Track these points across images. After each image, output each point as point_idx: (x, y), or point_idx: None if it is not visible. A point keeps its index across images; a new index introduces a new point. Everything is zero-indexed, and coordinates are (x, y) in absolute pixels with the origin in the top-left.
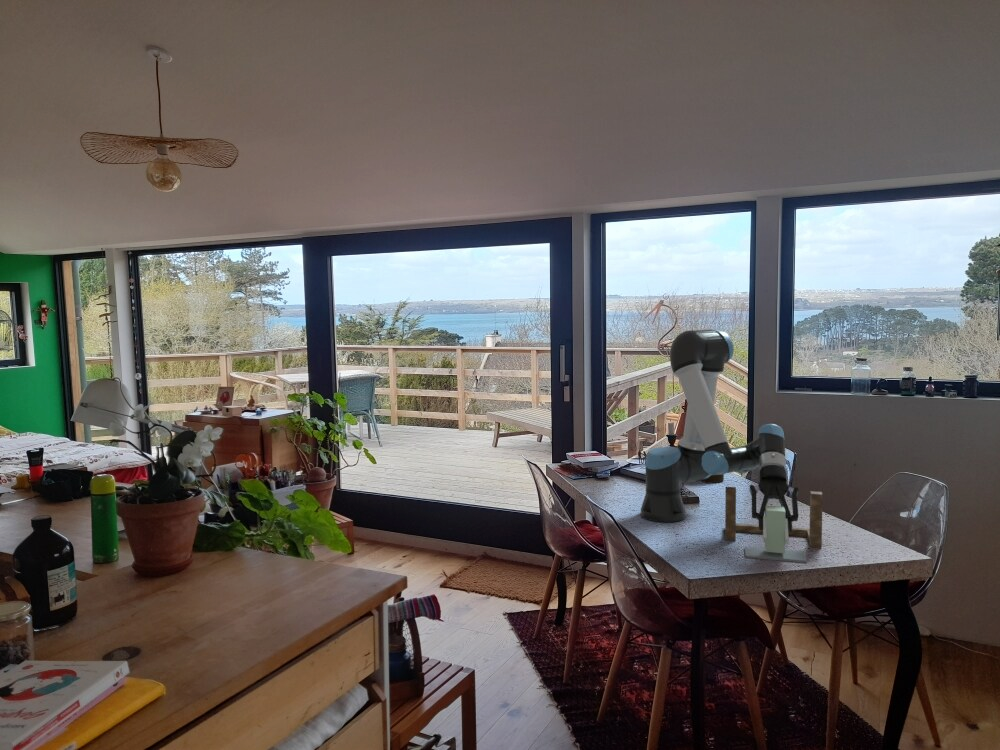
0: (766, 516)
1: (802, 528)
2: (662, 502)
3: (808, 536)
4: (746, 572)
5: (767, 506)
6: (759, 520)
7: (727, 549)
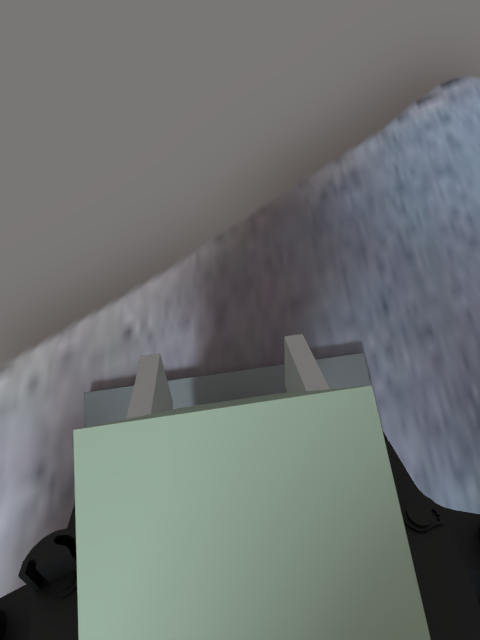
0: (337, 388)
1: None
2: None
3: None
4: (321, 183)
5: None
6: (395, 464)
7: (466, 447)
